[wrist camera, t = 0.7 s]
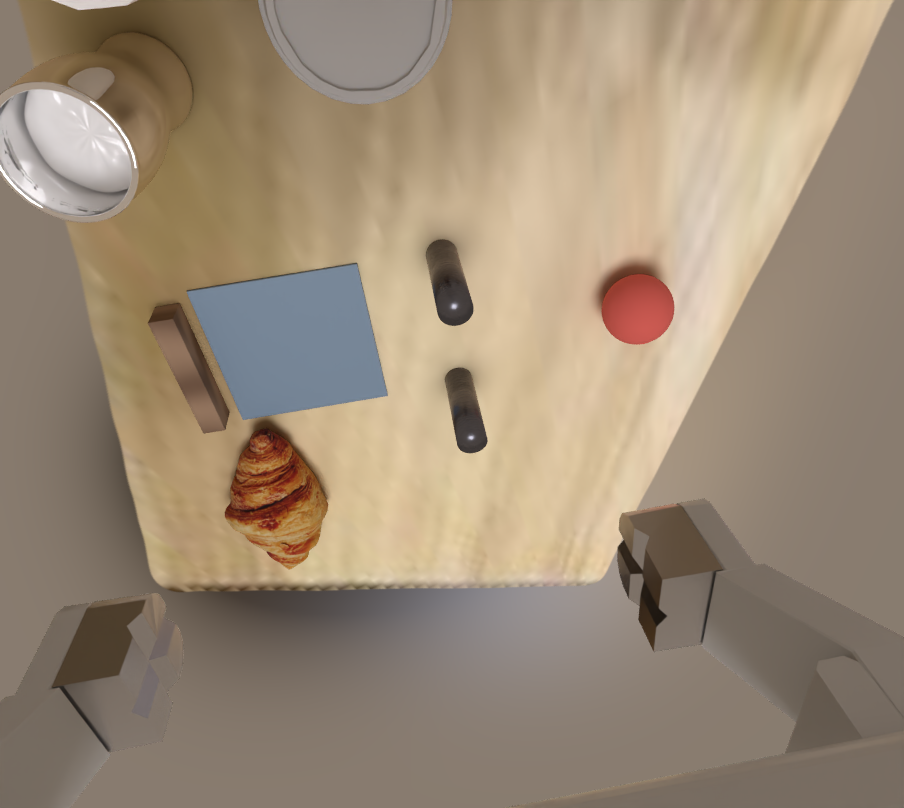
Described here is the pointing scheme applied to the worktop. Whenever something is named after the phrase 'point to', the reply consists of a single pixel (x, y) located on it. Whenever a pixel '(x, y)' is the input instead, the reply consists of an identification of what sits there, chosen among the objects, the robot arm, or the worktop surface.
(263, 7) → the disposable coffee cup
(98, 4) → the foam cup
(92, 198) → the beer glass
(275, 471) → the croissant
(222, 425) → the wall
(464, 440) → the post
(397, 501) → the worktop surface
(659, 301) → the ball
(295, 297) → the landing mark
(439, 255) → the post
